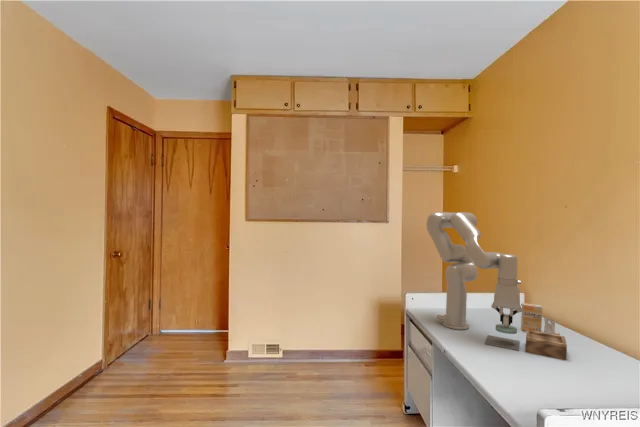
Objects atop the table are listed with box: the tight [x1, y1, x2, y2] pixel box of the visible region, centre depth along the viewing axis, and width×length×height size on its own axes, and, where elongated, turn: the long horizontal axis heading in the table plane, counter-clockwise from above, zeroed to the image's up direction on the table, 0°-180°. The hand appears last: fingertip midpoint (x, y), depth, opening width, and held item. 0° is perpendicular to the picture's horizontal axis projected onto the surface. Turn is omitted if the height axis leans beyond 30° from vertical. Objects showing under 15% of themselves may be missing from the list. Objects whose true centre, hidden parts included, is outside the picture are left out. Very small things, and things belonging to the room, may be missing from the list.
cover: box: [495, 313, 518, 335], centre depth 157 cm, size 8×8×7 cm
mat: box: [484, 334, 520, 352], centre depth 158 cm, size 13×13×1 cm
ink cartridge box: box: [543, 315, 561, 336], centre depth 164 cm, size 2×11×10 cm, turn 168°
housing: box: [525, 330, 568, 361], centre depth 150 cm, size 14×12×6 cm
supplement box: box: [520, 302, 543, 332], centre depth 177 cm, size 8×5×13 cm, turn 68°
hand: (506, 323), depth 157 cm, fingers closed on cover
